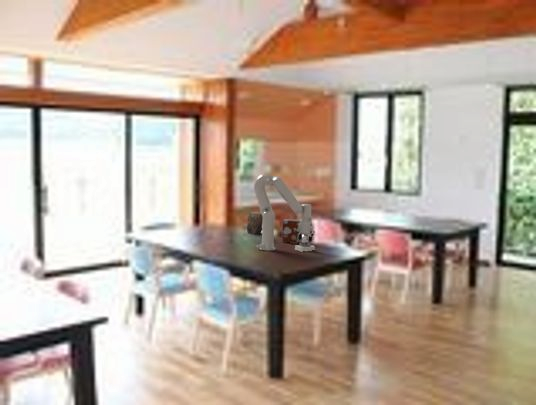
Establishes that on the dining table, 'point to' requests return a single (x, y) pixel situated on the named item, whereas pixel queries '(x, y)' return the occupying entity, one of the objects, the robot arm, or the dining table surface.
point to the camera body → (304, 247)
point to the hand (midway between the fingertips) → (305, 240)
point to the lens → (304, 238)
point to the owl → (254, 223)
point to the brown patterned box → (290, 230)
